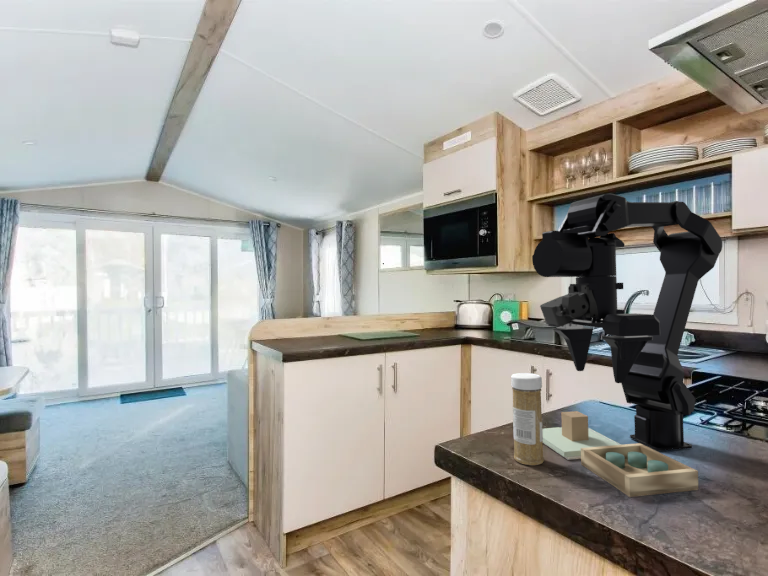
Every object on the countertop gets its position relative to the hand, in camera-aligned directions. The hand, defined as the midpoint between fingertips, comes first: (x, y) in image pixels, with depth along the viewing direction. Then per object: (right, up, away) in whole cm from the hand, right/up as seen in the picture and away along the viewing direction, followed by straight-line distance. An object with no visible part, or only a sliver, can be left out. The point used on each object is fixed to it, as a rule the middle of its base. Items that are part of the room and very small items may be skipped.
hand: (598, 376), depth 64 cm
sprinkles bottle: (-11, -14, 0) cm, 17 cm away
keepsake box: (+2, -13, -6) cm, 14 cm away
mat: (-1, -13, +6) cm, 14 cm away
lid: (-1, -13, +6) cm, 14 cm away
